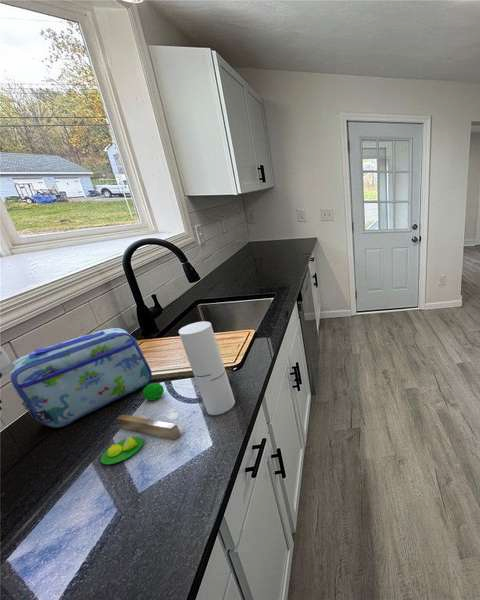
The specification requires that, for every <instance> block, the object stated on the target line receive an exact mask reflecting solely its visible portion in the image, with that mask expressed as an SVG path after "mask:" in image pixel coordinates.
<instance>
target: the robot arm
mask: <svg viewBox="0 0 480 600" xmlns="http://www.w3.org/2000/svg"><path fill="white" fill-rule="evenodd" d="M13 369H14V366H13V365H12V363H11V360H10V357H9V356H8V354H7V353H6V351H5V350H4V348H3V347H2V345H1V344H0V379H1V378H2V377H3V376H5V375H7V374H8V373H9V372H10V371H12V370H13ZM2 403H3V401H2V400H1V399H0V404H2ZM1 410H3V409H2V406H0V411H1Z"/></svg>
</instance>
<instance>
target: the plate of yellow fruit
mask: <svg viewBox="0 0 480 600" xmlns="http://www.w3.org/2000/svg"><path fill="white" fill-rule="evenodd" d="M143 444H144V439H143V438H142V437H140V436H132V437H130V436H129V437H127V438H125V439H123V440H120V441H118V442H116V443H115V444H111V445H110V447H109V448H107V450H105V451H104V452H103V453H102V455H101V457H100V463H101V464H103V465H113V464H117V463H120V462H122V461H124V460H126V459H128V458H130V457H131V456H133V455H134V454H135V453H137V452H138V451H139V450H140V449H141V447H142V446H143Z"/></svg>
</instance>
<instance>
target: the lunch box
mask: <svg viewBox="0 0 480 600" xmlns="http://www.w3.org/2000/svg"><path fill="white" fill-rule="evenodd" d="M143 353H144V352H143V350H142V348H141V346H140V345H139V343H138V341H137V339H136V338H135V337H134V336H132V335H131V334H130V333H129V332H128V331H126V330H125V329H122V328H119V327H115V328H113V327H112V328H107V329H102V330H99V331H95V332H94V331H93V332H92V333H88V334H84V335H81V336H78V337H75V338H72V339H69V340H66V341H63V342H60V343H57V344H54V345H51V346H47V347H45V348H44V347H43V348H35V349H34V352H31V353H28V354H25V355H23V356H21V357H19V358H17V359H16V360H14V361H13V362H12V363H11V364H12V365H13V366H14V369H13V370H12V371H10V372H8V373H9V376H10V377H9V379H10V380H11V386H12V389H14V391H15V393H16V394H17V396H18V397H19V399H20V400H21V405H22V407H24V409H25V410H27V412H28V414H29V415H30V417H31V418H32V419H36V420H37V421H38V423H40V424H42V425H43V426H46V427H48V428H49V427H50V428H56V429H57V428H62V427H65V426H68V425H70V424H71V423H73V422H75V421H77V420H78V419H80V418H83V417H85V416H86V415H88V414H90V413H92V412H95V411H97V410H98V409H100V408H102V407H105V406H106V405H109V404H110V403H113V402H115V401H117V400H119V399H122V398H124V397H125V396H127V395H130V394H133V393H134V392H136V391H138V390H140V389H142V388H144V387H146V386H147V385H149V384H150V382H151V381H152V378H153V373H152V369H151V367H150V365H149V363H148V361H147V360H146V358H145V355H144V354H143Z"/></svg>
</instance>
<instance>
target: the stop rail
mask: <svg viewBox="0 0 480 600" xmlns="http://www.w3.org/2000/svg"><path fill="white" fill-rule="evenodd" d="M116 419H117V421H118V423H119V425H120V427H121V429H122V430H127V431H132V432H137V433H141V434H146V435H151V436H156V437H161V438H165V439H170V440H177V439H178V438H179V437H180V436H181V435H182V434H181V432H180V429H179V427H178V424H176V423H173V422H172V423H171V422H167V421H162V420H157V419H151V418H146V417H141V416H137V415H136V416H135V415H131V414H125V413H124V414H122V415H120V416H118V417H116Z"/></svg>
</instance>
